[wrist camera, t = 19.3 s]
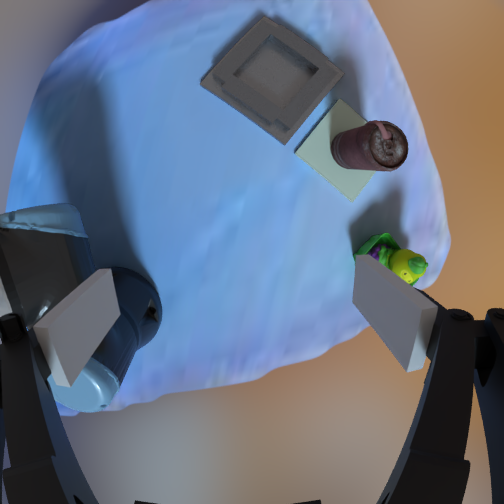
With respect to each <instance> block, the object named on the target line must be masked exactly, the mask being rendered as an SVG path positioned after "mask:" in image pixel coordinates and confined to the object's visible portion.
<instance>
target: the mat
mask: <svg viewBox="0 0 504 504" xmlns="http://www.w3.org/2000/svg"><path fill="white" fill-rule="evenodd" d="M366 123H367V122H366V121H365V120H364V119H363V118H362V117H361V116H360V115H359V114H357V113H356V112H355V111H354V110H353V109H352V108H351V107H350V106H348V105H347V104H346V103H345V102H344V101H343V100H342V99H338V101H337V102H336V103H335V104H334V105H333V107H332V108H331V109H330V110H329V112H328V113H327V114H326V115H325V116H324V118H323V119H322V120H321V121H320V123H319V124H318V125H317V126H316V127H315V129H314V130H313V131H312V132H311V134H310V135H309V136H308V137H307V139H306V140H305V141H304V142H303V144H302V145H301V146H300V147H299V149H298V150H297V151H296V152H295V153H294V154H295V155H297V156H298V157H299V158H300V159H301V160H303V161H304V162H305V163H306V164H308V165H309V166H310V167H311V168H312V169H314V170H315V171H316V172H317V173H318V174H319V175H321V176H322V177H323V178H324V179H325V180H327V181H328V182H329V183H330V184H331V185H332V186H333V187H335V188H336V189H337V190H338V191H339V192H340V193H341V194H343V195H344V196H345V197H346V198H347V199H348V200H349V201H350V202H353V201H354V200H355V199H356V197H357V196H358V195H359V193H360V192H361V191H362V189H363V188H364V187H365V185H366V184H367V183H368V181H369V180H370V179H371V177H372V176H373V175H374V173H375V172H376V171H372V170H353V169H345V168H342V167H341V166H339V165H338V164H337V163H336V162H335V160H334V159H333V157H332V154H331V144H332V141H333V139H334V137H335V136H336V135H337V134H339V133H340V132H344V131H347V130H350V129H353V128H357V127H360V126H364V124H366Z"/></svg>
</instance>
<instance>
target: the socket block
mask: <svg viewBox="0 0 504 504" xmlns="http://www.w3.org/2000/svg"><path fill="white" fill-rule="evenodd" d="M328 59H329V58H327V57H326V56H325V55H324V54H322V53H321V52H320V51H318V50H317V49H316V48H314V47H313V46H311V45H310V44H309V43H307V42H306V41H305V40H303V39H302V38H300V37H299V36H297V35H296V34H294V33H293V32H291V31H290V30H288V29H287V28H285V27H284V26H282V25H281V24H280V25H278V24H276V23H275V22H273V21H272V20H270V19H268V18H267V17H265V16H264V17H263V18H262V19H261V20H260V21H258V22H257V23H256V24H255V25H254V26H253V27H252V28H251V29H250V30H249V31H248V32H247V33H246V34H245V35H244V36H243V37H242V38H241V39H240V40H239V41H238V42H237V43H236V44H235V45H234V47H233V48H232V49H231V50H230V51H229V52H228V53H227V54H226V55H225V56H224V57H223V58H222V59H221V60H220V62H219V63H218V64H217V65H216V66H215V67H214V68H213V69H212V71H211V72H210V73H209V74H208V75H207V76H206V77H205V79H204V80H203V81H202V82H201V83H200V86H202V87H203V88H205V89H206V90H208V91H209V92H211V93H212V94H214V95H215V96H217V97H218V98H220V99H221V100H223V101H224V102H225V103H227V104H228V105H230V106H231V107H233V108H234V109H236V110H237V111H238V112H240V113H241V114H243V115H244V116H245V117H247V118H248V119H249V120H251V121H252V122H254V123H255V124H256V125H258V126H259V127H260V128H262V129H263V130H264V131H266V132H267V133H268V134H270V135H271V136H272V137H274V138H275V139H276V140H278V141H279V142H280V143H281V144H283V145H286V143H287V142H288V141H289V140H290V138H291V137H292V136H293V135H294V133H295V132H296V131H297V130H298V129H299V127H300V126H301V125H302V124H303V122H304V121H305V120H306V119H307V118H308V116H309V115H310V114H311V113H312V112H313V110H314V109H315V108H316V107H317V106H318V104H319V103H320V102H321V101H322V100H323V98H324V97H325V96H326V95H327V94H328V92H329V91H330V90H331V89H332V88H333V87H334V85H335V84H336V83H337V82H338V81H339V80H340V78H341V77H342V76H343V75H344V74H345V73H344V72H342V71H341V70H340V69H339V68H338V67H336V66H335V65H334V64H333V63H331V62H330V61H329V60H328Z"/></svg>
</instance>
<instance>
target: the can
mask: <svg viewBox="0 0 504 504" xmlns="http://www.w3.org/2000/svg"><path fill="white" fill-rule="evenodd" d="M331 154H332V157H333V159H334V160H335V162H336V163H337V164H338V165H339V166H341V167H342V168H345V169H353V170H372V171H393V170H396V169H397V168H399V167H400V166H401V165H402V164H403V163H404V161H405V160H406V158H407V154H408V142H407V139H406V136H405V135H404V133H403V132H402V130H401V129H400V128H398V127H397V126H396V125H394V124H392V123H390V122H388V121H377V120H375V121H369V122H367V123H366V124H364V126H360V127H357V128H353V129H350V130H347V131H344V132H340V133H339V134H337V135H336V136H335V137H334V139H333V141H332V144H331Z"/></svg>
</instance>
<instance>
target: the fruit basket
mask: <svg viewBox="0 0 504 504" xmlns="http://www.w3.org/2000/svg"><path fill="white" fill-rule="evenodd" d="M367 254H369V255H370V256H372V257H373V258H374V259H376V260H377V261H379V262H380V263H381V264H383V265H384V266H385V267H387V268H388V269H390V270H391V271H392V272H394V273H395V274H396V275H398V276H399V277H400V278H402V279H403V280H404V281H406V282H407V283H408V284H410V285H411V286H413V285H414V284H415V283H416V282H417V281H418V279H419V277H421V276H423V275H424V273H425V271H426V267H428V263H426V260H425V258H424V257H423V256H422V255H420V254H416V253H415V252H413V251H411V250H408V249H400V247H399V246H398V245H397V243H396V242H395V240H394V239H393V238H392V237H391V235H390V234H389V233H383V234H381V235H373V236H371V238H370V240H368V241H367V242H366V243H365V244H364V245H363V246H362V247H361V248H360V249H359V250H358V252H357V253H355V254H354V255H353V258H354V261H355V263H356V255H367Z"/></svg>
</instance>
